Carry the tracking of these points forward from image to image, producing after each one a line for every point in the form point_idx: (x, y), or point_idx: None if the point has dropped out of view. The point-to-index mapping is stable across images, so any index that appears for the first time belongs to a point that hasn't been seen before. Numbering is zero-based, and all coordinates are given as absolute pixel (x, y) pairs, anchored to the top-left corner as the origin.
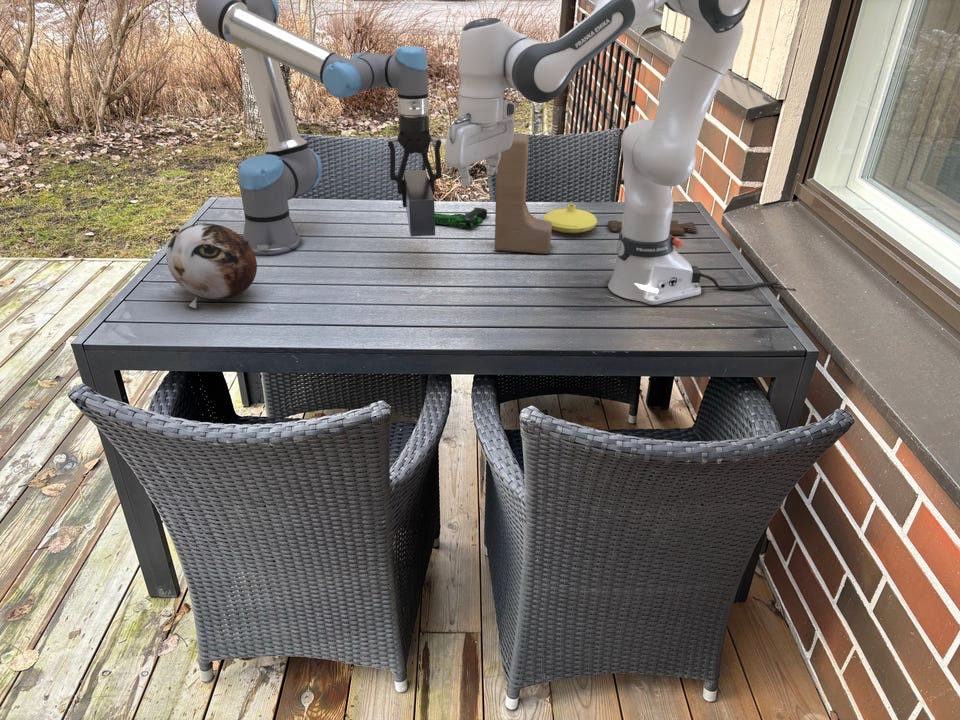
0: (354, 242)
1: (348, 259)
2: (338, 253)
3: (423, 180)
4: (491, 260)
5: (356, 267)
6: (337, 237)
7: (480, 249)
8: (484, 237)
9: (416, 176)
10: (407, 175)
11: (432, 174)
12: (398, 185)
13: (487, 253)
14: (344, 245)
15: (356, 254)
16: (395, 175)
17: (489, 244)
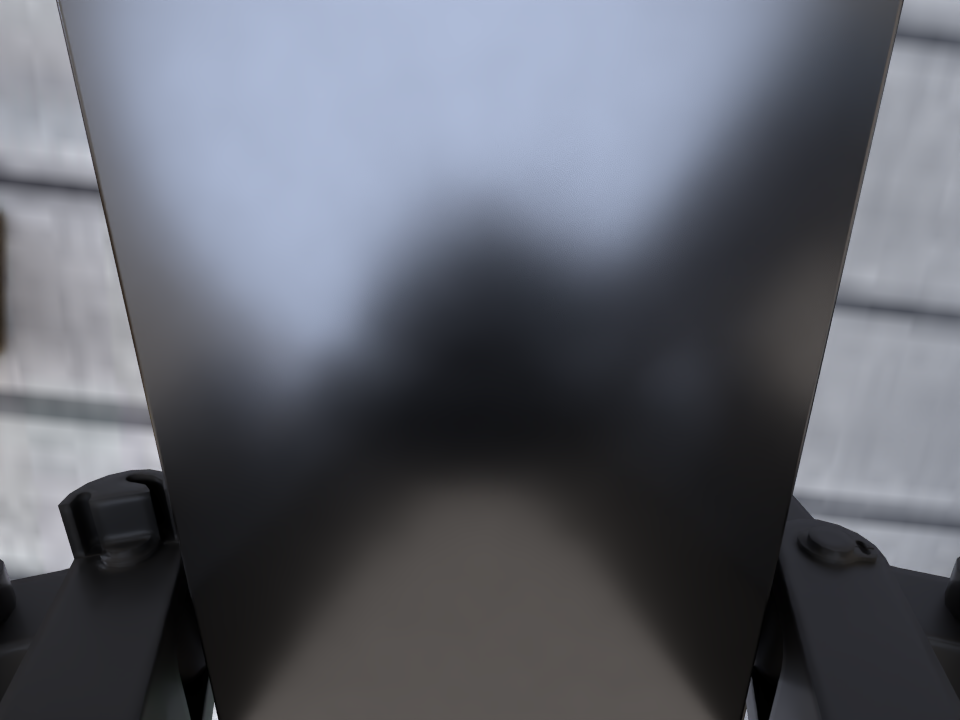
0: (825, 436)
1: (920, 185)
2: (953, 287)
3: (267, 125)
4: (10, 60)
5: (903, 37)
6: (899, 510)
7: (101, 259)
8: (93, 434)
9: (474, 542)
10: (692, 628)
11: (60, 628)
12: (789, 508)
13: (50, 188)
14: (890, 401)
15: (854, 260)
16: (953, 675)
17: (53, 331)
